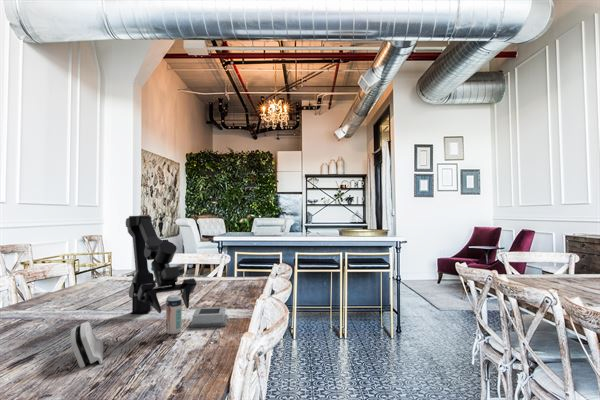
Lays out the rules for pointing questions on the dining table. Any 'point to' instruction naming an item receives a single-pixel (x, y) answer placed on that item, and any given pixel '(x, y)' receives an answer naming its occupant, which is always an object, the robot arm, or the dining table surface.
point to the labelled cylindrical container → (173, 314)
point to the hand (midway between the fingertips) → (174, 310)
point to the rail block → (209, 317)
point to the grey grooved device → (86, 345)
